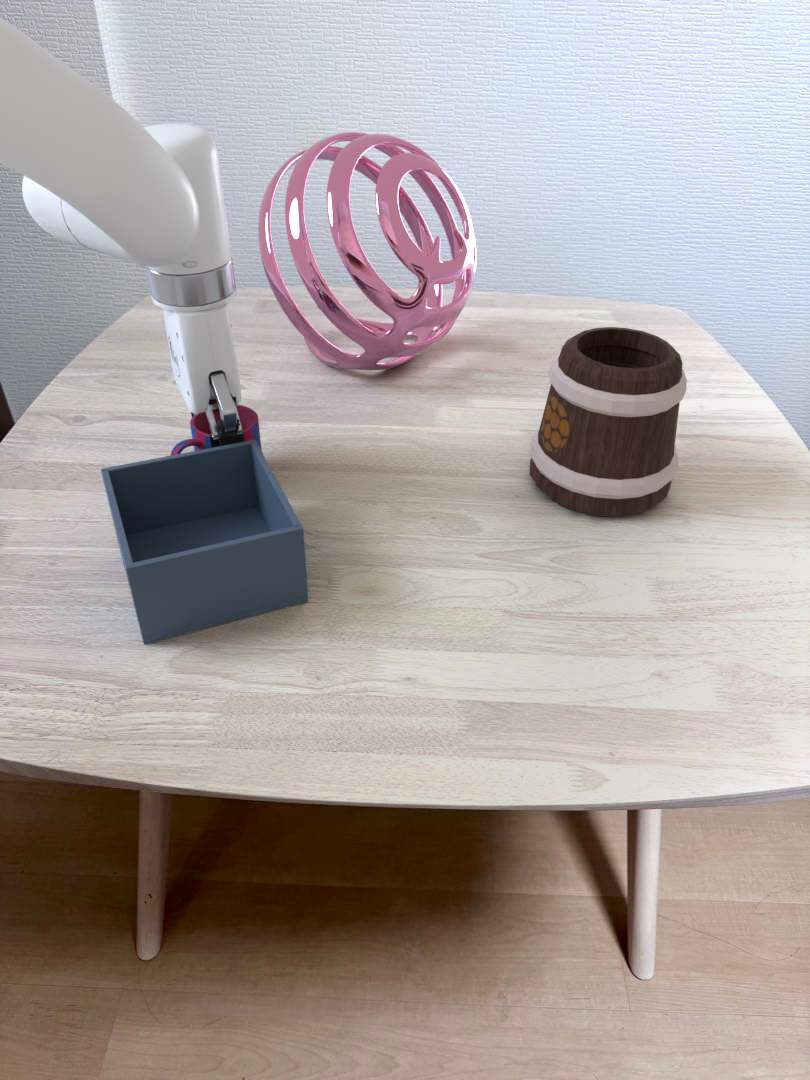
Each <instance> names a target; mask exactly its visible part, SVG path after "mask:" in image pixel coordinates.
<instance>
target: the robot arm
mask: <svg viewBox="0 0 810 1080" xmlns="http://www.w3.org/2000/svg"><path fill="white" fill-rule="evenodd" d="M0 164H1V165H3V166H5V167H7V168H9V169H11V170H13V171H15V172H17V173H18V174H20V175H22V176H23V178H22V183H21V184H22V185H21V192H22V199H23V203H24V206H25V208H26V210H27V212H28V214H29V215H30V217H31V219H33V220H34V222H35V223H36V224H37V225H38V226H39V227H40V228H41V229H43V230H44V231H45V232H47V233H48V234H49V235H51V236H52V237H54V238H57V239H58V240H61V241H63V242H66V243H69V244H71V245H75V246H79V247H81V248H84V249H88V250H90V251H93V252H98V253H101V254H104V255H108V256H111V257H113V258H116V259H119V260H123V261H126V262H128V263H131V264H134V265H138V266H141V267H145V272H146V277H147V283H148V287H149V292H150V297H151V301H152V303H153V304H154V306H156V307H158V308H159V309H162V311H163V312H162V313H163V319H164V327H165V332H166V333H165V334H166V338H167V345H168V350H169V351H168V352H169V357H170V364H171V371H172V374H173V378H174V381H175V382H176V386H177V388H178V390H179V392H180V394H181V397H182V399H183V400H184V403H185V405H186V407H187V409H188V411H189V412H190V415H191V418H192V417H193V416H194V415H199V413H202V412H206V415H207V419H208V423H209V426H210V430H211V435H209V441H210V447H211V448H213V447H218V446H224V445H229V444H234V443H239V442H245V441H244V434H243V429H242V426H241V423H240V419H239V415H238V412H237V408H236V406H238V405H241V402H242V389H241V381H240V372H239V366H238V359H237V353H236V348H235V346H236V345H235V341H234V335H233V329H232V328H233V327H232V323H231V319H230V314H229V313H230V312H229V308H228V304H229V303H230V302H232V301H233V300H234V299H235V298H236V296H237V293H238V291H237V285H236V284H237V283H236V277H235V269H234V262H233V254H232V245H231V238H230V237H231V236H230V230H229V224H228V215H227V209H226V202H225V193H224V187H223V186H224V185H223V179H222V171H221V163H220V156H219V151H218V147H217V143H216V141H215V139H214V136H212V134H211V133H210V132H209V131H208V130H206V129H205V128H203V127H201V126H198V125H194V124H188V123H174V122H173V123H159V124H152V125H148V126H147V125H146V126H143V125H142V124H141V123H140V122H139V121H137V119H136V118H135V117H133V115H131V113H129V112H128V111H127V110H126V109H125V108H123V106H121V105H120V104H119V103H118V102H116V100H114V99H113V98H112V97H110V96H109V95H108V94H107V93H106V92H105V91H103V90H101V88H99V87H98V86H97V85H95V84H94V83H93V82H91V81H90V80H89V79H87V78H85V77H84V76H83V75H82V74H80V73H79V72H77V71H76V70H75V69H73V68H71V67H70V66H69V65H67V64H66V63H65V62H63V61H62V60H60V59H59V58H58V57H56V56H55V55H53V53H51V52H49V51H48V50H47V49H45V48H44V47H43V46H42V45H41V44H39V43H38V42H36V41H35V40H34V39H33V38H31V37H30V36H28V35H27V34H26V33H24V32H23V31H21V30H20V29H18V28H17V27H15V26H14V25H12V24H11V23H9V21H7V20H5V19H3V18H2V17H1V16H0ZM218 411H220V417H221V419H220V420H218V422H217V425H216V421H215V418H214V414H213V413H214V412H218Z"/></svg>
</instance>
